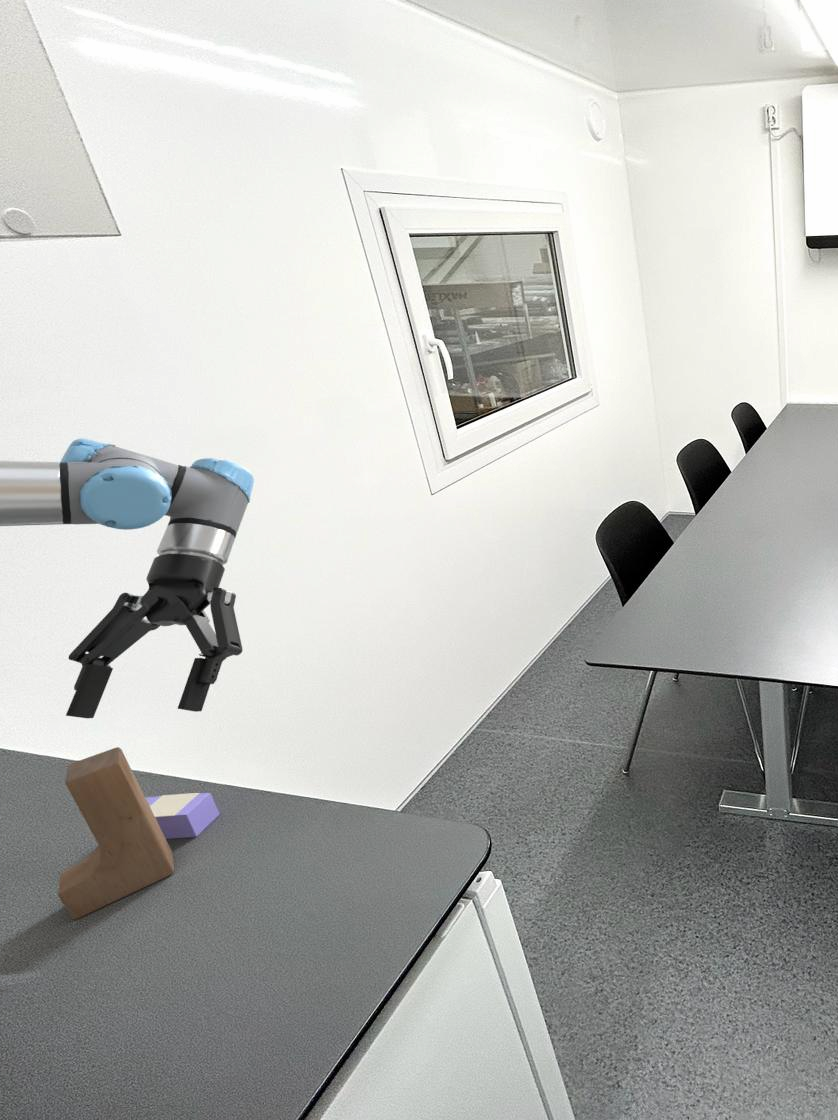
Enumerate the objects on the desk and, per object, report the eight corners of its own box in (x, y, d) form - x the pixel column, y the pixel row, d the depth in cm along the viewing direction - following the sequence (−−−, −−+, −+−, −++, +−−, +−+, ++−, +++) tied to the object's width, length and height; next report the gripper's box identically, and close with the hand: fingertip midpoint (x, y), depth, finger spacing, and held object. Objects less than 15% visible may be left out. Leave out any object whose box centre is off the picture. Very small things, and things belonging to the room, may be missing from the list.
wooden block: (72, 922, 74) (2, 804, 68) (75, 898, 77) (8, 784, 71) (175, 874, 80) (119, 762, 74) (174, 854, 83) (119, 744, 77)
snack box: (120, 842, 85) (108, 820, 84) (147, 819, 89) (136, 797, 88) (196, 837, 86) (185, 814, 84) (220, 814, 90) (210, 791, 88)
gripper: (299, 565, 93) (257, 711, 84) (126, 574, 92) (63, 723, 83) (261, 546, 87) (210, 702, 78) (73, 556, 85) (-1, 715, 76)
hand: (134, 713), depth 80 cm, fingers open, 13 cm apart
